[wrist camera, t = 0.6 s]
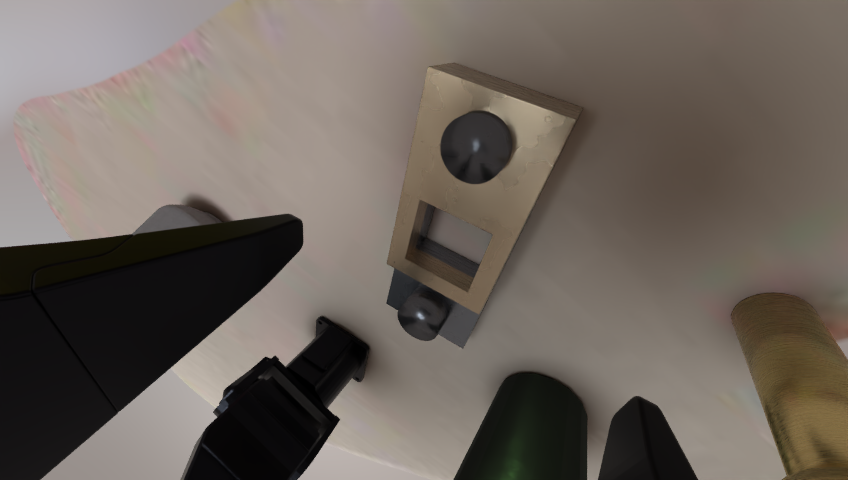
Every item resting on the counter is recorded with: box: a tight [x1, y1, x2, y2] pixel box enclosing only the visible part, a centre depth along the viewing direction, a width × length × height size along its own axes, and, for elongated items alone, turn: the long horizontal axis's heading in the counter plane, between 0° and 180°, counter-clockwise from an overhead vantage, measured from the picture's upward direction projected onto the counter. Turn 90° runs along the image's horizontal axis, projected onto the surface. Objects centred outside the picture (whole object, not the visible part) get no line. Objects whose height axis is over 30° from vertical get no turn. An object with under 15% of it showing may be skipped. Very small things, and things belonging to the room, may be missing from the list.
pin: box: [731, 293, 848, 480], centre depth 13 cm, size 4×4×10 cm
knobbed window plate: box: [386, 63, 583, 348], centre depth 21 cm, size 18×7×4 cm, turn 165°
